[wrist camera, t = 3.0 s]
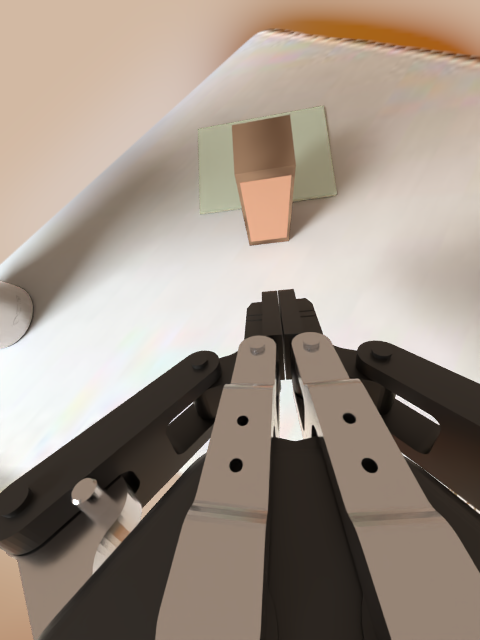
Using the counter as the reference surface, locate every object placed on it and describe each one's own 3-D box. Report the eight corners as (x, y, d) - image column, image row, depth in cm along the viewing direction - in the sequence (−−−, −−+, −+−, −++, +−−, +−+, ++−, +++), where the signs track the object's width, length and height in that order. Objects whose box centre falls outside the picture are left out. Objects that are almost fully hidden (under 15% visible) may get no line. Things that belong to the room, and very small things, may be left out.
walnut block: (249, 245, 32) (234, 175, 20) (247, 211, 33) (231, 125, 21) (288, 241, 31) (296, 165, 20) (285, 206, 32) (290, 114, 21)
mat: (200, 214, 34) (199, 212, 34) (198, 131, 37) (197, 128, 37) (336, 195, 32) (336, 193, 31) (322, 108, 35) (323, 105, 34)
